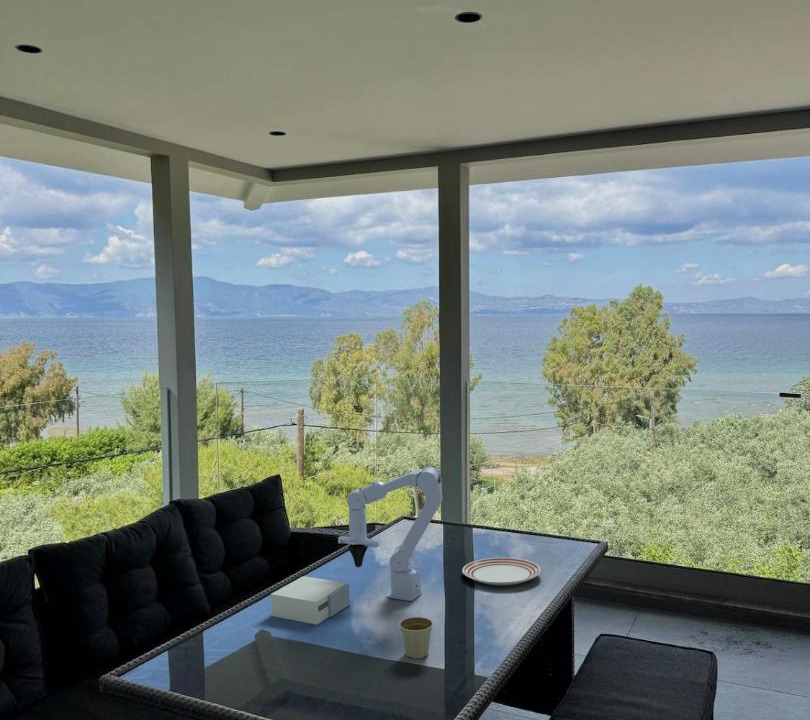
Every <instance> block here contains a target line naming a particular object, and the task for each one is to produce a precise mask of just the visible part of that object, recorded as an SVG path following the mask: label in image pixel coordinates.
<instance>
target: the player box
mask: <svg viewBox="0 0 810 720" xmlns="http://www.w3.org/2000/svg"><path fill="white" fill-rule="evenodd" d="M347 584H348V583H347V582H342V581H336V580H331V579H330V580H329V579H324V578H317V577H312V576H311V577H310V576H304V575H303V576H301V577H299V578H297V579H296V580H294V581H291V582H290V583H288V584H286V585H284V586H283V587H281V588H279V589H277V590H276V591H274V592H272V593H270V609H271V615H270V616H271V617H275V618H279V619H280V618H281V619H284V620H290V619H291V621H295V622H296V621H297V622H302V623H306V624H312V625H317V626H318V625H319V624H320V623H322V622H324V621H325V620H326V619H328V618H330V617H329V595H330V594H332V593H334V592H335V591H337V590H339V589H340V588H342V587H343V586H345V585H347Z"/></svg>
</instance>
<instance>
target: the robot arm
mask: <svg viewBox="0 0 810 720" xmlns="http://www.w3.org/2000/svg"><path fill="white" fill-rule="evenodd" d="M442 480H443V479H442V476H441V475H440V472H439V470H438V469H437V468H436V467H434V466H426V467H424V468H423V469H422V468H419V469H418V468H417V469H416V470H413V471H409V472H408V473H406V474H403V475H401V476H398V477H397V478H394V479H392V480H389V481H387V482H382V481H377V480H374V481H371V484H370V485H366V486H364V487H363V486H359V487H358V488H357V489H356V488H355V489H354V490H353V491H351V492H350V494H348V496H347V498H346V504H347V506H348V529H349V530H348V531H349V532H348V534H349V535H348V536H345V535H344V536H343V535H341V536H339V537H337V542H338V543H337V544H347V545H349V546H348V547H347V548H348V549H347V550H348V551H349V553H350V554H351V556H352V560H353V561H354V565H355V566H354V567H356V568H361V567H362V566H363V561H364V559H365V554H366V552H367V549H369V547H371V548H372V549H373V548H374V549H377V548H378V547H379V546H380V545H379V544H380V543H379V542H380V541H379V540H375V539H372V538H368V537H367V535H368V534H367V511H366V505H370V504H372V503H375V502H378V501H380V500H384V499H385V498H386V497H387V495H388V493H390V492H392V491H396V490H399V489H402V488H404V487H405V488H406V487H409V486H410V487H413V488H415V489H416V488H419V489H420V490H421V492H422V493H423V495H424V498H425V500H426V501H425V503H424V505H423V506H422V508H421V510H420V512H419V514H418V516H417V517H416V518H415V520H414V522H413V524H412V525H411V527H410V529H409V531H408V533H407V534H406V536H405V537H404V540H402V543H400V545H398V546H397V547H395V548H394V551H393V554H392V555H391V556H390V559H389V565H390V593H388V594H386V595H385V596H386V598H389V599H395V600H402V601H408V602H413V601H414V600H415V599H416V598H418V597H419V596H420V595H422V592H421V591H422V590H421V589H422V588H421V573H420V572H419V570H415V569H414V568H413V566H412V564H411V561H412V559H413V553H414V550H415V549H416V547H417V545H418V544H419V542H420V540H422V536H423V535H424V533H426V530H427V528H428V527H429V525H430V523H431V521H432V519H433V518H434V516H435V515H436V513H437V510H439V508H440V506H441V504H442V501H443V491H442V490H443V488H442Z"/></svg>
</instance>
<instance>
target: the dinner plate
mask: <svg viewBox="0 0 810 720" xmlns="http://www.w3.org/2000/svg"><path fill="white" fill-rule="evenodd" d="M541 571H542V568H541V567H540V565H538V564H537V563H536V562H532V561H530V560H527V559H522V558H514V557H490V558H489V557H488V558H483V559H477V560H473V561H471V562H469V563H467V564H465V565H464V566H463V567H462V570H461V572H462V575H464V576H465V577H468V578H469V579H471V580H473V581H476V582H477V583H482V584H485V585H491V586H497V587H498V586H499V587H500V586H501V587H505V586H506V587H507V586H515V585H519V584H522V583H526V582H528V581H530V580H533V579H534V578H537V576H538V575H540V574H541Z"/></svg>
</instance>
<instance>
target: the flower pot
mask: <svg viewBox="0 0 810 720" xmlns="http://www.w3.org/2000/svg"><path fill="white" fill-rule="evenodd" d="M433 626H434V622H433V620H432V619H430V618H427V617H425V616H424V617H423V616H422V617H421V616H412V617H406V618H404V619H402V620H400V621H399V622H398V627H399V628H400V631H401V633H402V634H401V635H402V638H403V639H402V641H403V645H404V650H405V651H404V652H405V655H406V656H407V658H408V657H410V658H411V659H413V660H414V659H415V660H417V659H424V658H425V657H427V656H428V655H429V649H430V639H431V632H432V628H433Z"/></svg>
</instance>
